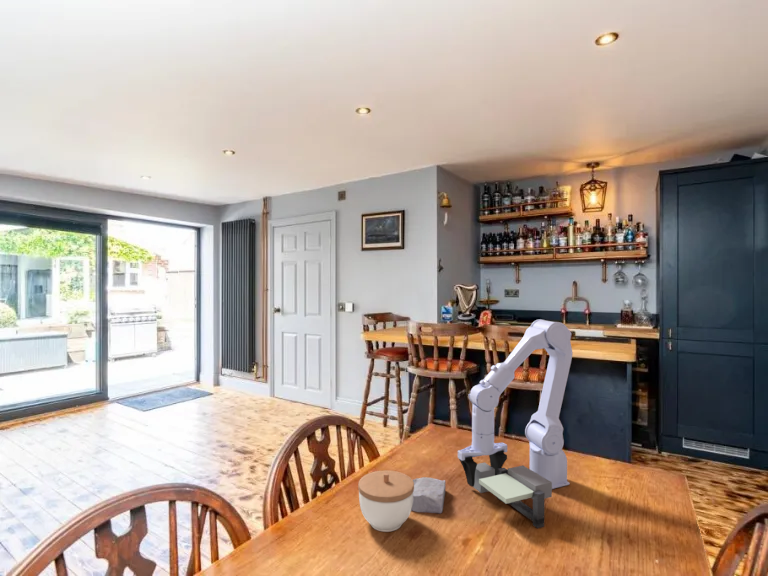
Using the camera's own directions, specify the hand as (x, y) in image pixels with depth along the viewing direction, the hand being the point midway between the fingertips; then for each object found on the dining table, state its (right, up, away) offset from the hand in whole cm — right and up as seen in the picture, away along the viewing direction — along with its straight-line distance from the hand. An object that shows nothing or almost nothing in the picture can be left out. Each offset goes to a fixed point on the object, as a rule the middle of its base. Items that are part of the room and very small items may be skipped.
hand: (482, 482), depth 110 cm
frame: (+6, -1, -12) cm, 13 cm away
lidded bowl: (-26, -2, -16) cm, 30 cm away
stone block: (-16, -2, -6) cm, 17 cm away
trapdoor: (+5, +3, -12) cm, 13 cm away
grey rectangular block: (0, -2, 0) cm, 2 cm away
